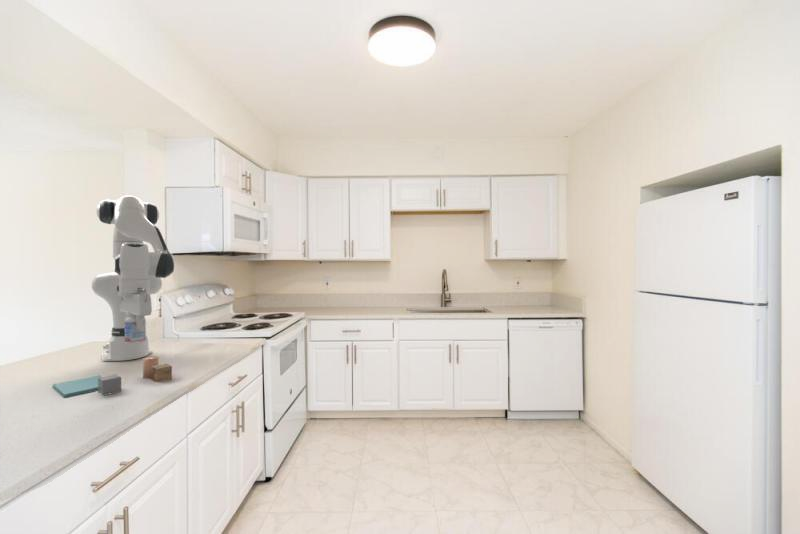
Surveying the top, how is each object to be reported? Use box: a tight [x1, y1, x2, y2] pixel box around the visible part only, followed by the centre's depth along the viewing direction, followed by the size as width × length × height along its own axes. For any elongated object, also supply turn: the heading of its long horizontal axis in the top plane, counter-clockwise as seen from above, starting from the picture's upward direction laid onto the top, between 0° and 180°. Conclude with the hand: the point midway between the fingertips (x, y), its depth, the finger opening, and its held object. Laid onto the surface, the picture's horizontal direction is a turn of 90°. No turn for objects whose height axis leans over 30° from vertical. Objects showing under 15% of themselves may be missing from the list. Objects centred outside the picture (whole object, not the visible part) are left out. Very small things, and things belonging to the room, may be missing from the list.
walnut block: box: [150, 363, 173, 383], centre depth 137 cm, size 5×5×5 cm
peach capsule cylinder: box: [142, 356, 160, 379], centre depth 140 cm, size 5×5×7 cm
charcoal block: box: [97, 373, 122, 396], centre depth 123 cm, size 5×5×5 cm
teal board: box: [52, 374, 103, 398], centre depth 128 cm, size 16×13×1 cm
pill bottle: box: [125, 311, 147, 344], centre depth 130 cm, size 6×6×11 cm
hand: (135, 326), depth 130 cm, fingers closed on pill bottle, 6 cm apart
